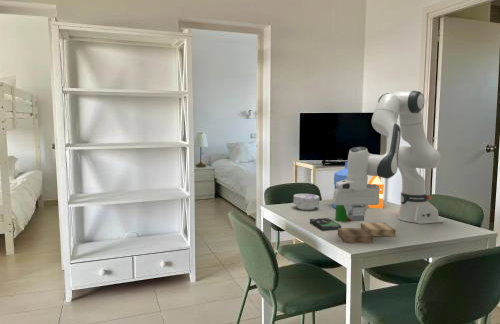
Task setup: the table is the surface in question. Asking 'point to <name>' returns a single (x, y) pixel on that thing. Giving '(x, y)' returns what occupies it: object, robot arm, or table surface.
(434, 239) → the table surface
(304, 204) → the paper bowls
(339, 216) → the motor
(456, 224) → the table surface
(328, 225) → the disk drive
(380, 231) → the stand
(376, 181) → the orange juice
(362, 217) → the block
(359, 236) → the stand
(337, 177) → the water jug
